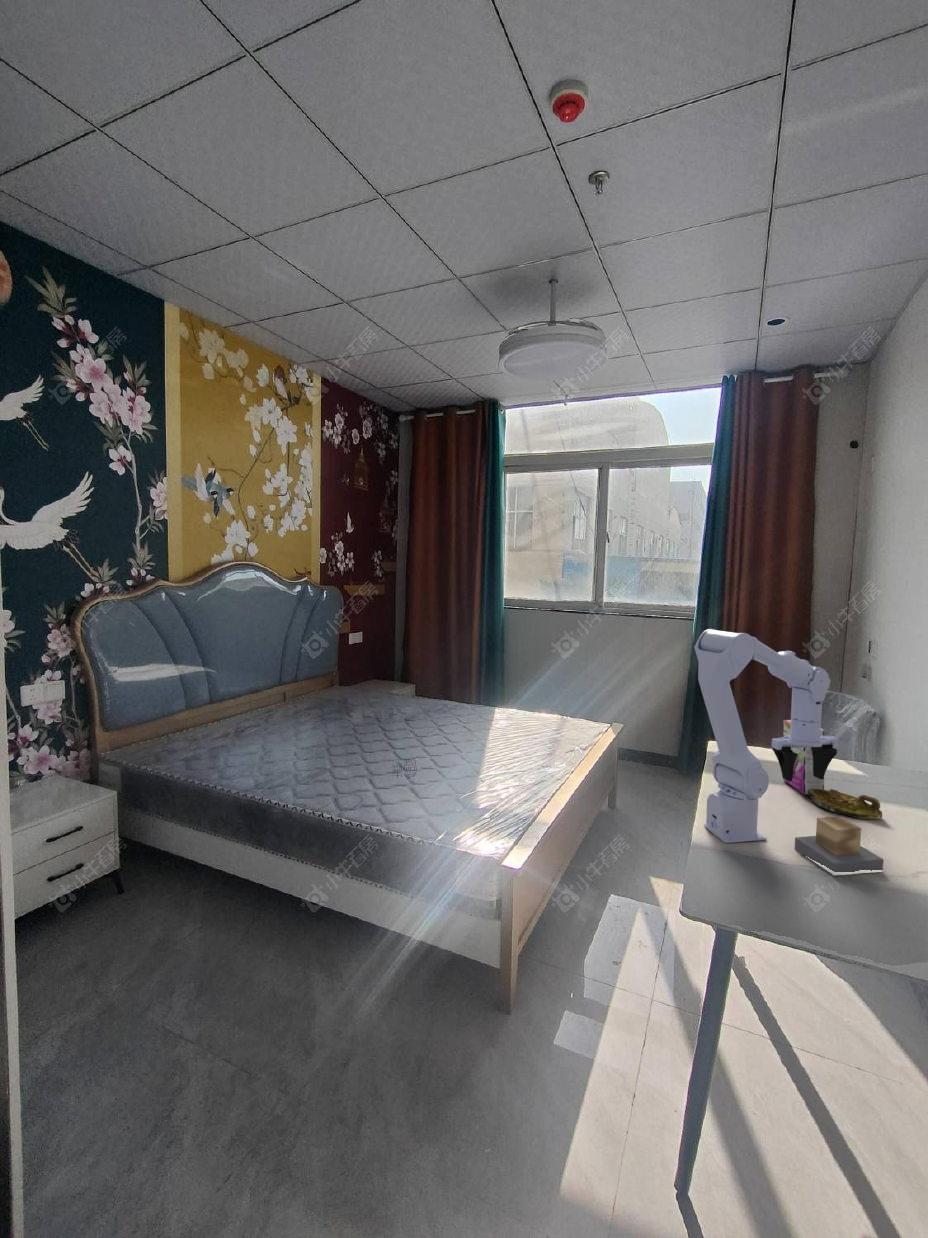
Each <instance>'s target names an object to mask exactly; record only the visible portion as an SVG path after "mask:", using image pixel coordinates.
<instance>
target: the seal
mask: <svg viewBox="0 0 928 1238" xmlns="http://www.w3.org/2000/svg"><path fill="white" fill-rule="evenodd" d="M808 794H809V795H808V796H809V797H810V798H811V801H813V802H814V803H815V804H816V805H817V806H819V807H821V808H823V809H825V810H828V811H830V812H833V813H836V814H841V815H845V816H849V817H853V818H857V819H860V820H881V819H882V818H883V812H882V810H880V808H881V803H880V800H879V799H877V798H875V797H872V796H869V795H866V794H861V795H859V796H858V797H857V796H854V795H850V794H847V793H843V792H840V791H839V790H836V789H829V790H827V789H824V790H820V789H810V790H808ZM868 802H869V803H868ZM870 803H871V804H870Z"/></svg>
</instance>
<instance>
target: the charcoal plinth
mask: <svg viewBox="0 0 928 1238" xmlns="http://www.w3.org/2000/svg"><path fill="white" fill-rule="evenodd" d="M794 851H796V852H797V853H799V852H800V853H799V854H801V855H802V854H803V855H802V856H803V857H805V856H807V857H809V858H810V859H812V860H814V861H816V862H818V863H820V864H821V865H824V866H826V867H827V868H829V869H830V870H832V871H834V872H855V871H859V870H871V871H872V870H884V859H883V858H882V857H880V856H879V855H877V854H875V853H873V852H872V851H870V850H868V849H867V848H866V847H863V846H861V845H860V853H858V854H846V855H835V854H833V853H831V852H830V851H828V850H827V849H825V848H824V847H822V846H821V845H819V844H817V843H816V835H810V836H807V835H806V836H796V837H795V838H794Z"/></svg>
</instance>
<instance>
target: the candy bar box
mask: <svg viewBox="0 0 928 1238" xmlns="http://www.w3.org/2000/svg"><path fill="white" fill-rule="evenodd" d="M790 725H791V719H785V720H783V725H782V726H783V727H782V728H783V734H782V737H785V736H789V735H790ZM820 736H825V729H823V728H821V732H820ZM791 750H793V752H795V753H797V754H798V756H797V758H796V760H795V764H794V769H793V779H792V781H787V780H785V779H783V782H784V783H786V784H788V785H789V786H791V787H792V788H794V789H795V790H797V792H800V793H802V794H803V795H806V796H810V795H809V794H808V790H810V789H820V790H825V776H824V777H823V779H819V778H817V777H814V775H813V756H812V750H811V747H800V748H791Z"/></svg>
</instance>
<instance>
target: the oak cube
mask: <svg viewBox="0 0 928 1238" xmlns="http://www.w3.org/2000/svg"><path fill="white" fill-rule="evenodd" d="M815 836H816V843H817V844H819V845H821V846H822V847H824V848H825V849H827V850H828V851H830V852H831V853H833V854H835V855H846V854H858V853H860V846H861V841H862V839H861V837H862V827H860V826H859V825H857V824H855V823H853V822H852V821H850V820H848V819H846V818H844V817H843V816H840V815H839V816H838V815H837V816H825V817H823V816H822V817H816V831H815Z"/></svg>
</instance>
